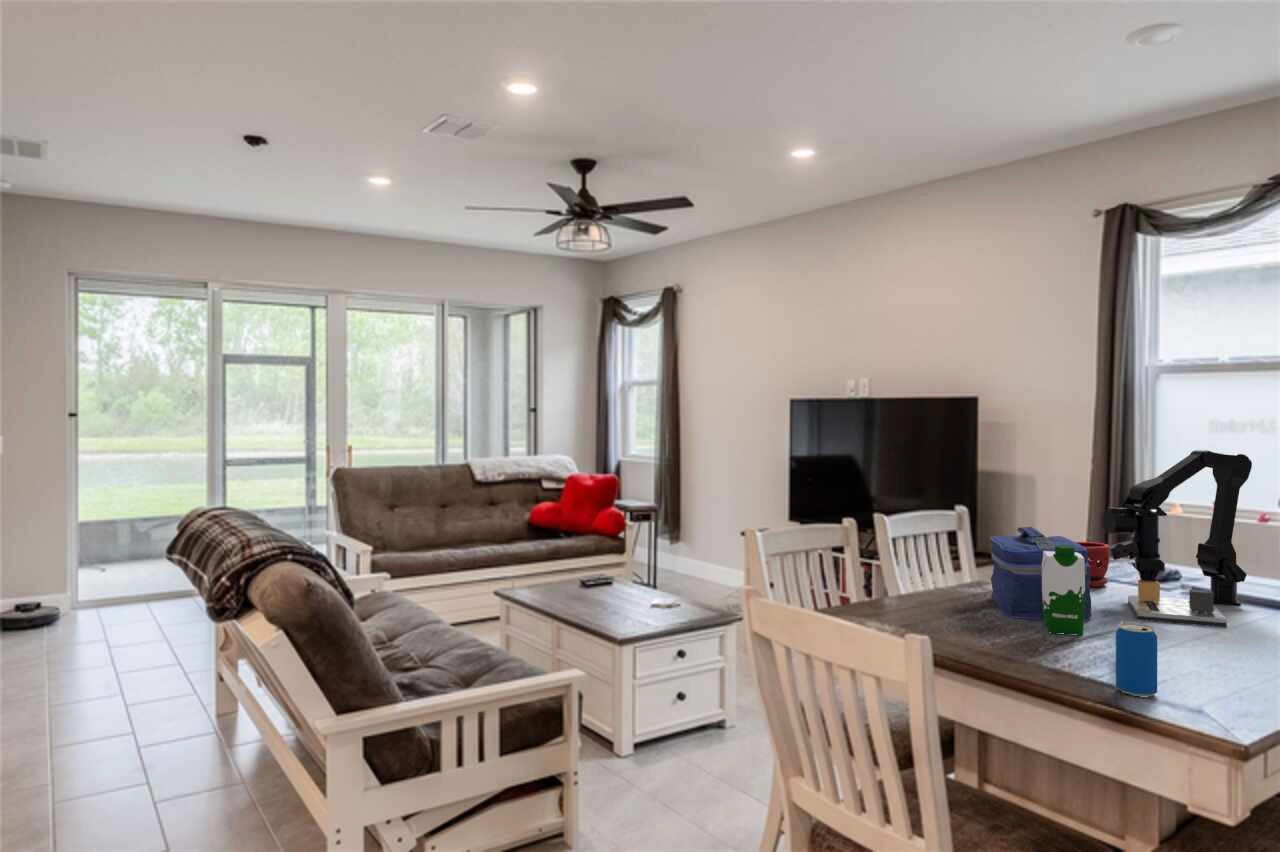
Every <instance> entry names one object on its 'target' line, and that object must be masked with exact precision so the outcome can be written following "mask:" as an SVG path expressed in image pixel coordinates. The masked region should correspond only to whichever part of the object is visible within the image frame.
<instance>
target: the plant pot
mask: <svg viewBox="0 0 1280 852" xmlns="http://www.w3.org/2000/svg"><path fill="white" fill-rule="evenodd" d="M1075 542H1076V543H1078V544H1079V545H1081V546H1083V547H1084V548H1086V549H1087V550H1086V551H1087V562H1088V564H1089V565H1090V572H1089V573H1090V587H1089V588H1094V587H1095V588H1096V587H1103V586H1104V585H1106V584H1107V583H1108V581H1109V579H1108V578H1107V577H1106V574H1107V572H1108V569H1109V566H1110V565H1109V564H1110V550H1109V548H1108V547H1109V546H1110V545H1109V544H1106V543H1101V542H1092V541H1091V542H1089V541H1075Z"/></svg>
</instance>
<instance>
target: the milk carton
mask: <svg viewBox="0 0 1280 852" xmlns="http://www.w3.org/2000/svg"><path fill="white" fill-rule="evenodd" d="M1084 568H1085V562H1084V557H1083V556H1082V555H1081V554H1079V553H1076V552H1074V547H1073V546H1064V545H1058V546H1055V552H1051V551H1043V560H1042V610H1043V616H1044V620H1043V621H1044V623H1043V624H1044V627H1045V626H1046V627H1045V628H1047V629H1046V630H1048V631H1047V632H1048V633H1049V632H1051V633H1064V634H1063V635H1065V634H1077V635H1076V636H1079V635H1083V634H1084V627H1085V626H1084V625H1085V621H1084V619H1085V569H1084Z"/></svg>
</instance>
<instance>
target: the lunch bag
mask: <svg viewBox="0 0 1280 852" xmlns="http://www.w3.org/2000/svg"><path fill="white" fill-rule="evenodd" d="M1016 530H1017V532H1018V533H1020V534H1018V535H1011V536H1009V535H1008V536H1007V535H1004V536H1002V535H993V536H990V548H991V553H990V554H991V559H992V560H993V570H992V572H993V573H992V574H991V577H990V581H991V589H992V593H991V594H990V596H991V598H990V599H991V600H992V601H993V602H994V603H995V604H996V605H997V607H999V610H1000V609H1001V610H1000V611H1001V613H1002V612H1003V613H1004V614H1003V613H1002V614H1003V615H1005V614H1006V615H1005V616H1007V615H1009V616H1008V617H1010V616H1013V617H1012V618H1014V617H1018V618H1017V619H1024V618H1025V620H1037V619H1039V621H1041V620H1042V621H1044V616H1043V610H1042V560H1043V551H1051V552H1055V546H1058V545H1064V546H1073V547H1074V552H1076V553H1079V554H1081V555H1082V556H1083V557H1084V562H1085V568H1084V569H1085V619H1084V622H1086V621H1090V620H1091V617H1092V599H1091V598H1092V597H1091V591H1090V590H1091V589H1090V588H1091V587H1090V573H1089V572H1090V565H1089V564H1088V562H1087V551H1086V550H1087V549H1086V548H1084V547H1083V546H1081V545H1079V544H1078V543H1076V542H1077V541H1073V540H1071V539H1069V538H1067V537H1065V536H1061V535H1053V536H1047V537H1046V536H1045V535H1044V533H1042V532H1041V531H1039V530H1038V529H1036V528H1034V527H1033V526H1027V527H1023V526H1020V527H1018V528H1017V529H1016Z"/></svg>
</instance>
